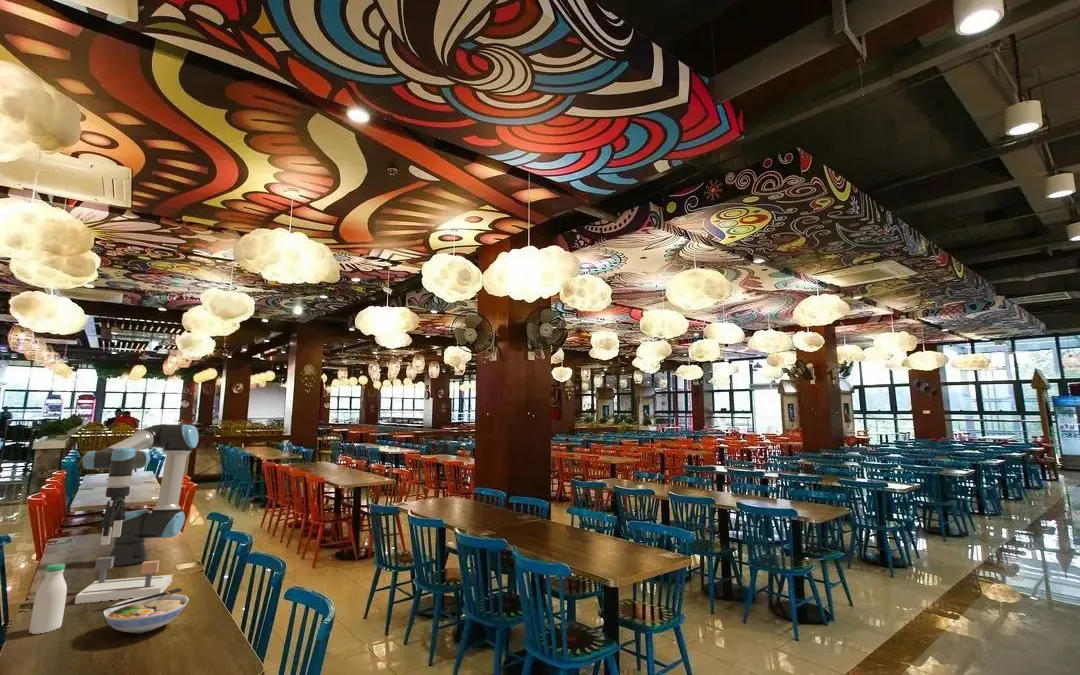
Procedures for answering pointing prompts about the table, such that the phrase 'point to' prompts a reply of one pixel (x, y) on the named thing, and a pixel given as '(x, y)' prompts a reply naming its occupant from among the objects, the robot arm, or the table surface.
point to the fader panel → (122, 589)
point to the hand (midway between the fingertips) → (110, 540)
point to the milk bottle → (49, 601)
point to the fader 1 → (103, 566)
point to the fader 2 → (149, 570)
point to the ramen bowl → (145, 612)
